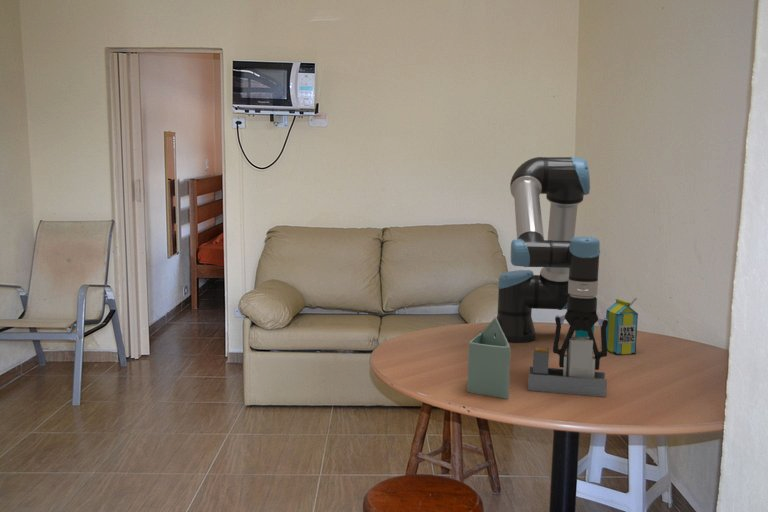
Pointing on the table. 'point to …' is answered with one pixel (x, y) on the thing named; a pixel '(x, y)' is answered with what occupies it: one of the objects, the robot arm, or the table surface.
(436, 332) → the table surface
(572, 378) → the rail
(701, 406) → the table surface
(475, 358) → the planter
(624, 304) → the carton
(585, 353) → the skincare box
